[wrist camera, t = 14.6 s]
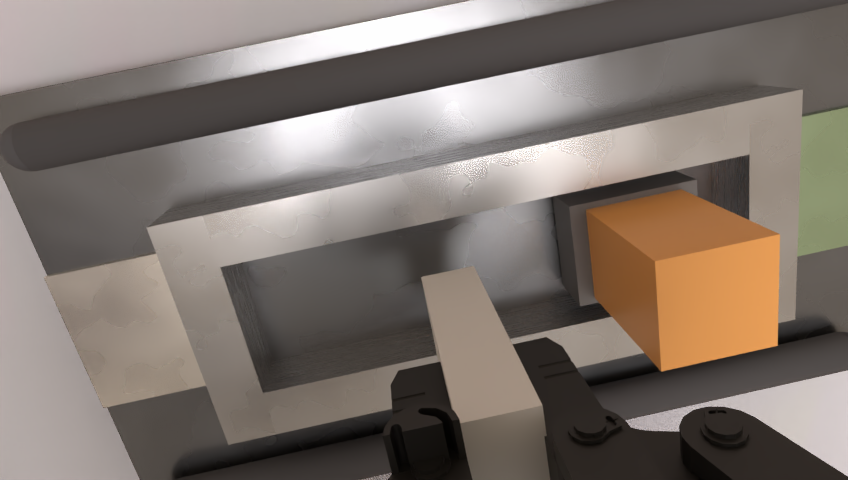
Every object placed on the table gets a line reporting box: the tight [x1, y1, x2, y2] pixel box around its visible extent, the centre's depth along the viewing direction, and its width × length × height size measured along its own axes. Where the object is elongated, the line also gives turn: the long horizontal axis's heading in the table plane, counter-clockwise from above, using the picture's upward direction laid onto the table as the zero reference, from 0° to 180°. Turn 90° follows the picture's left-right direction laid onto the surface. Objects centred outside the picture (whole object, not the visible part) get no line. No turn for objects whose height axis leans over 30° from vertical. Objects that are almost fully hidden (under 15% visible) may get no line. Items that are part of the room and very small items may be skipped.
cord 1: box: [175, 332, 848, 480], centre depth 21 cm, size 26×1×1 cm, turn 101°
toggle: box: [552, 170, 780, 372], centre depth 17 cm, size 4×3×6 cm
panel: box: [0, 0, 848, 480], centre depth 19 cm, size 28×16×3 cm, turn 101°
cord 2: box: [0, 0, 848, 172], centre depth 17 cm, size 26×1×1 cm, turn 101°
